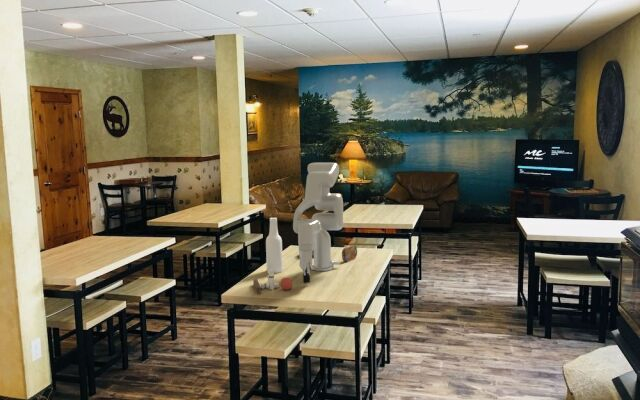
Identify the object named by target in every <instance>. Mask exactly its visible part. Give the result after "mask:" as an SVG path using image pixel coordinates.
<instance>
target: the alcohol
mask: <svg viewBox="0 0 640 400" xmlns="http://www.w3.org/2000/svg"><path fill="white" fill-rule="evenodd" d="M265 252H266V254H265V255H266V257H265V258H266V260H265V261H266V272H268V270H270V269H271V270H273V272H274V274H279V273H282V272H283V269H284V268H283V240H282V237H281V236H280V235H279V230H278V218H277V217H269V233H268V236H267V237H266V239H265Z"/></svg>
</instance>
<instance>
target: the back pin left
mask: <svg viewBox="0 0 640 400" xmlns="http://www.w3.org/2000/svg"><path fill="white" fill-rule="evenodd" d="M274 283H275V273H274V272H269V288H268V289H269V291H275V288H274Z"/></svg>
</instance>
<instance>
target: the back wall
mask: <svg viewBox="0 0 640 400" xmlns="http://www.w3.org/2000/svg"><path fill="white" fill-rule="evenodd" d="M252 281H253V283H252V284H253V288H254V290H255V293H256V295H258V294H259V295H261V294H262V289H261V284H260V282H259V279H258V278H253V279H252Z"/></svg>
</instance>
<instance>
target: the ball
mask: <svg viewBox="0 0 640 400" xmlns="http://www.w3.org/2000/svg"><path fill="white" fill-rule="evenodd" d="M292 286H293V280H292V279H291V278H290V277H288V276H287V277H283V278H281V280H280V282H279V287H280V288H282V289H283V290H286V291H287V290H290V289H291V288H292Z"/></svg>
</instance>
